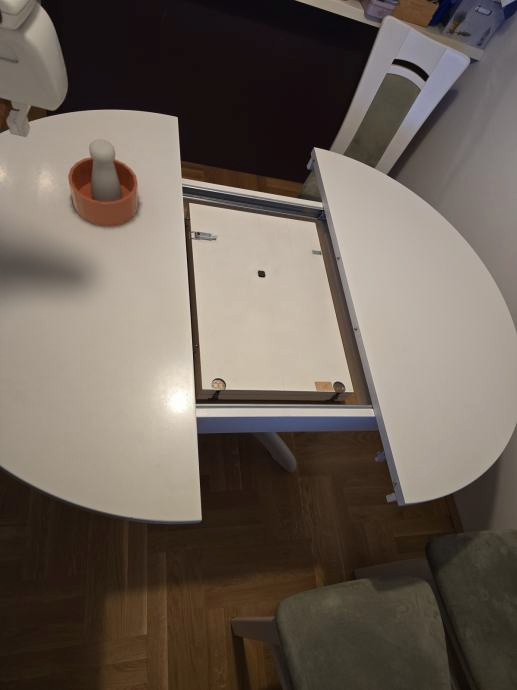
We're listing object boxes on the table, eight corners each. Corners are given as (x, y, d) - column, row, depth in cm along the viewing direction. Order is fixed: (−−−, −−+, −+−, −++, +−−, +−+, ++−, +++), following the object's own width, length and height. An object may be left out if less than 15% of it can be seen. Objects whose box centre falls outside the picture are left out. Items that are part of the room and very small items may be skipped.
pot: (66, 219, 75) (61, 195, 70) (81, 175, 81) (76, 150, 75) (132, 231, 78) (131, 209, 73) (141, 188, 83) (141, 165, 78)
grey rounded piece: (116, 215, 78) (112, 161, 66) (87, 206, 77) (78, 150, 66) (126, 196, 81) (123, 140, 69) (98, 186, 80) (91, 129, 68)
